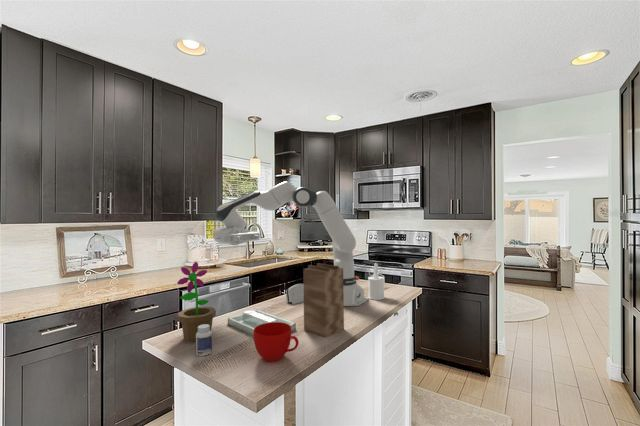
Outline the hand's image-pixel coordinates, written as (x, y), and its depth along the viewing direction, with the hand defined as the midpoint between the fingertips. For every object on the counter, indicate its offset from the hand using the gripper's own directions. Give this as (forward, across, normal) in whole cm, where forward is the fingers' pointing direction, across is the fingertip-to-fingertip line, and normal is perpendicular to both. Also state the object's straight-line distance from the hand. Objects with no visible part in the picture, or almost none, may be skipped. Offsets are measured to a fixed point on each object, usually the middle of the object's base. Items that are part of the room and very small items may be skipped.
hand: (249, 238), depth 150 cm
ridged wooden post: (+37, +12, +38) cm, 54 cm away
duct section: (+13, -4, +37) cm, 40 cm away
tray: (+14, -4, +38) cm, 41 cm away
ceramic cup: (+43, -18, +38) cm, 60 cm away
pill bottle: (+20, -33, +38) cm, 54 cm away
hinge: (-4, +35, +38) cm, 52 cm away
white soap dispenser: (+27, +68, +38) cm, 83 cm away
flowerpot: (+4, -28, +38) cm, 48 cm away
